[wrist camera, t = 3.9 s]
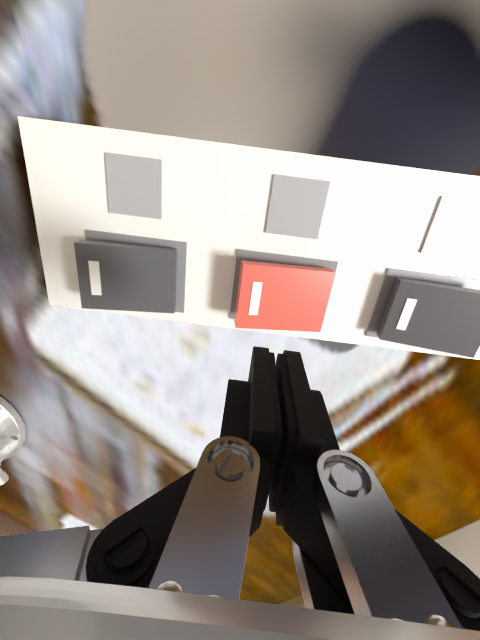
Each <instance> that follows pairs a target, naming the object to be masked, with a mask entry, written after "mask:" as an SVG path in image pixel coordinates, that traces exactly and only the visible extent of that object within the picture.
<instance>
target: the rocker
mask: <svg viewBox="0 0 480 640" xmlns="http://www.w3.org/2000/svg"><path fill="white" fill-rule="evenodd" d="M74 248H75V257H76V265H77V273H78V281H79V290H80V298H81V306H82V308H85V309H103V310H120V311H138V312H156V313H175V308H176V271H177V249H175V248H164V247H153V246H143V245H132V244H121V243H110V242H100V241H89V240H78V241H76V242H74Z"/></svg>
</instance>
